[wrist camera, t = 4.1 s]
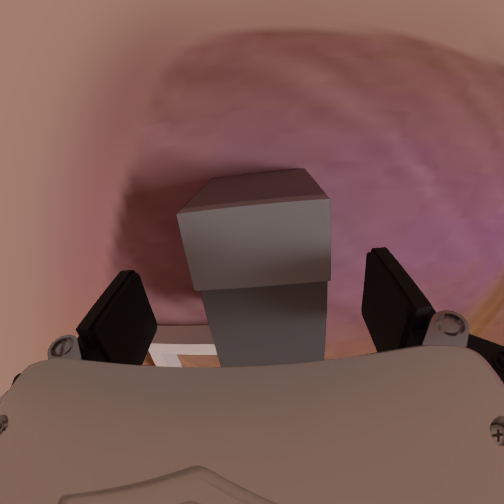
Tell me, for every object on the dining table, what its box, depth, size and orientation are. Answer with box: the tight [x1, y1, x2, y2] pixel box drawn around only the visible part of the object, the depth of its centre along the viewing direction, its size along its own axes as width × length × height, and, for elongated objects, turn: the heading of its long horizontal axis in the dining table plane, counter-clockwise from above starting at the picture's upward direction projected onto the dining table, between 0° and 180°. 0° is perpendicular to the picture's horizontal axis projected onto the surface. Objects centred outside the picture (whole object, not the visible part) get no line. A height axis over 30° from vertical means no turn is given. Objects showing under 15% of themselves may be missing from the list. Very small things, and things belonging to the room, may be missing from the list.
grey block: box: [176, 169, 331, 367], centre depth 13 cm, size 5×8×7 cm, turn 7°
